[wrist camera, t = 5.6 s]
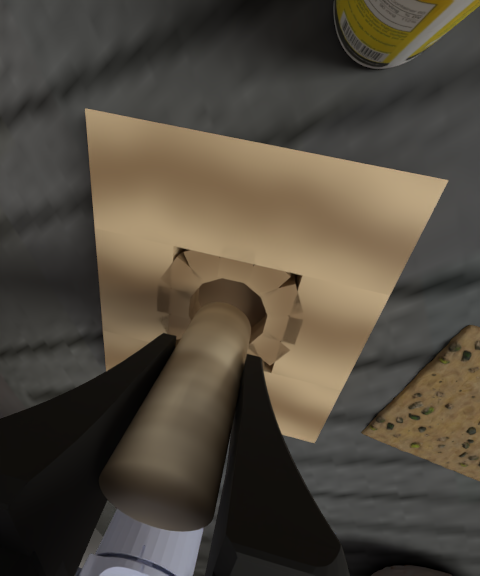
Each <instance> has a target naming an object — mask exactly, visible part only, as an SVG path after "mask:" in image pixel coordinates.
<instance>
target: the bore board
mask: <svg viewBox="0 0 480 576" xmlns="http://www.w3.org/2000/svg"><path fill="white" fill-rule="evenodd" d="M85 114H86V126H87V139H88V151H89V163H90V176H91V188H92V201H93V213H94V225H95V238H96V250H97V263H98V275H99V287H100V300H101V312H102V325H103V337H104V349H105V362H106V371H108V370H109V369H111V368H112V367H114V366H116V365H117V364H119V363H121V362H122V361H124V360H125V359H127V358H128V357H130V356H131V355H133V354H134V353H136V352H137V351H139V350H140V349H141V348H143V347H144V346H146V345H147V344H148V343H150V342H151V341H152V340H154V339H155V338H157V337H158V336H159V335H161V334H162V333H166V334H170V335H174V336H177V337H176V346H177V344H178V343H179V341H180V339H181V338H182V336H183V334H184V333H185V331H186V329H187V327H188V326H189V324H190V322H191V321H192V319H193V317H194V316H195V314H196V313H197V311H198V310H199V309H200V308H201V307H203V306H204V305H206V304H209V303H214V302H222V303H227V304H230V305H233V306H235V307H237V308H238V309H240V310H241V311H242V312H243V313H244V314H245V315H246V317H247V318H248V320H249V322H250V325H251V336H250V341H249V346H248V351H247V354H250V355H254V356H258V357H261V358H262V362H263V371H264V377H265V382H266V386H267V390H268V394H269V397H270V401H271V405H272V408H273V411H274V414H275V417H276V420H277V423H278V425H279V428H280V431H281V433H282V435H286V436H290V437H293V438H297V439H301V440H305V441H308V442H312V443H315V441H316V439H317V437H318V435H319V433H320V431H321V429H322V428H323V426H324V424H325V422H326V420H327V418H328V416H329V414H330V412H331V410H332V408H333V406H334V404H335V402H336V400H337V398H338V396H339V394H340V392H341V390H342V388H343V386H344V384H345V382H346V380H347V378H348V377H349V375H350V373H351V371H352V369H353V367H354V365H355V363H356V361H357V359H358V357H359V355H360V353H361V351H362V349H363V347H364V345H365V343H366V341H367V339H368V337H369V335H370V333H371V331H372V329H373V328H374V326H375V324H376V322H377V320H378V318H379V316H380V314H381V312H382V310H383V308H384V306H385V304H386V302H387V300H388V298H389V296H390V294H391V292H392V290H393V288H394V286H395V284H396V282H397V280H398V278H399V277H400V275H401V273H402V271H403V269H404V267H405V265H406V263H407V261H408V259H409V257H410V255H411V253H412V251H413V249H414V247H415V245H416V243H417V241H418V239H419V237H420V235H421V233H422V231H423V229H424V227H425V226H426V224H427V222H428V220H429V218H430V216H431V214H432V212H433V210H434V208H435V206H436V204H437V202H438V200H439V198H440V196H441V194H442V192H443V190H444V188H445V186H446V184H447V182H448V180H444V179H439V178H434V177H429V176H424V175H419V174H414V173H408V172H403V171H398V170H393V169H388V168H383V167H378V166H373V165H368V164H363V163H358V162H353V161H348V160H343V159H338V158H333V157H328V156H323V155H318V154H313V153H308V152H302V151H297V150H292V149H287V148H282V147H277V146H272V145H267V144H262V143H257V142H252V141H247V140H242V139H237V138H232V137H227V136H222V135H217V134H212V133H207V132H202V131H196V130H191V129H186V128H181V127H176V126H171V125H166V124H161V123H156V122H151V121H146V120H141V119H136V118H131V117H126V116H121V115H116V114H111V113H106V112H101V111H96V110H91V109H85Z"/></svg>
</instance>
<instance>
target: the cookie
mask: <svg viewBox="0 0 480 576" xmlns="http://www.w3.org/2000/svg"><path fill="white" fill-rule="evenodd" d="M361 433H362V434H364V435H366V436H369V437H371V438H373V439H376V440H378V441H380V442H383V443H386V444H388V445H390V446H392V447H396V448H398V449H400V450H401V451H405V452H409V453H411V454H413V455H416V456H419V457H421V458H423V459H426V460H429V461H431V462H433V463H435V464H439V465H441V466H443V467H445V468H447V469H451V470H453V471H457V472H458V473H461V474H463V475H465V476H468V477H471V478H473V479H475V480H478V481H480V327H477V326H473V325H468V326H466V327H465V328H464V329H462V330H461V331H460V333H459V334H457V335H456V336H455V337H453V338H452V339H451V340H450V342H449V344H448V345H447V346H446V347H445V348H444V349H443V350H442V351H441V352H440V353H438V354H437V356H436V357H435V358H434V359H433V360H432V361H431V362H430V363H429V364H427V365H426V366H425V368H423V369H422V370H421V371H420V372H419V373H418V375H417V376H416V377H415V378H414V379H413V380H412V381H411V382H410V383H409V384H408V385H407V386H406V387H405V388H404V390H403V391H402V392H401V393H399V394H398V396H396V397H395V398H393V401H392V402H391V403H390V404H388V405H387V406H386V407H385V408H384V409H383V410H382V411H380V412H379V413H378V415H377V416H376V417H375V418H374V420H373V421H372V422H370V424H369V425H368V426H367V427H366V428H365V429H364V430H363V431H362V432H361Z"/></svg>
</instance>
